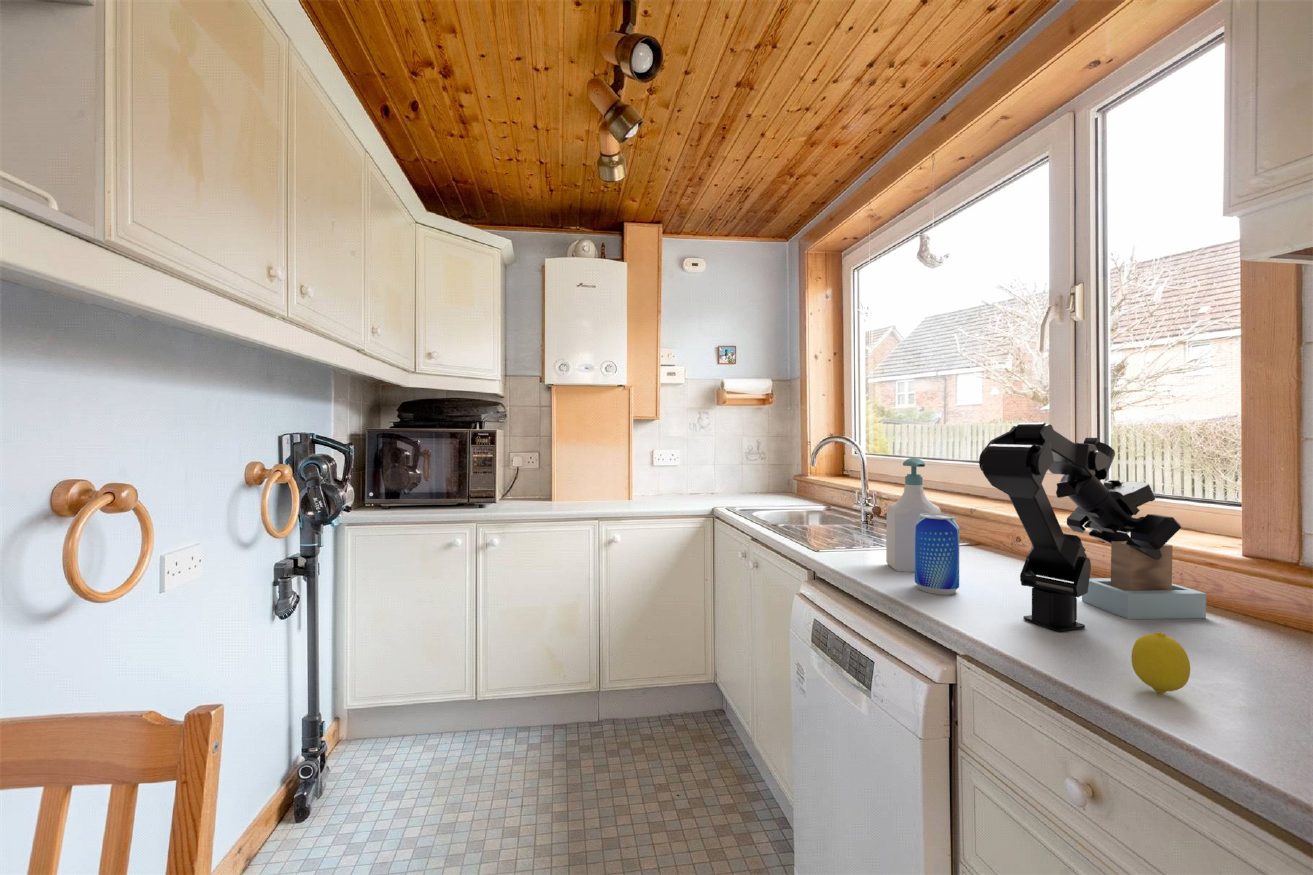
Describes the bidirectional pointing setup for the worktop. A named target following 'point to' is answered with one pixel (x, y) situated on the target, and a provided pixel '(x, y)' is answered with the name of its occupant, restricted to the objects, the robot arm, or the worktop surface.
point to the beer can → (937, 553)
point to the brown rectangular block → (1140, 568)
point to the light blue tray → (1146, 601)
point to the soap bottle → (906, 519)
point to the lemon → (1160, 662)
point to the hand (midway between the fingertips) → (1148, 555)
